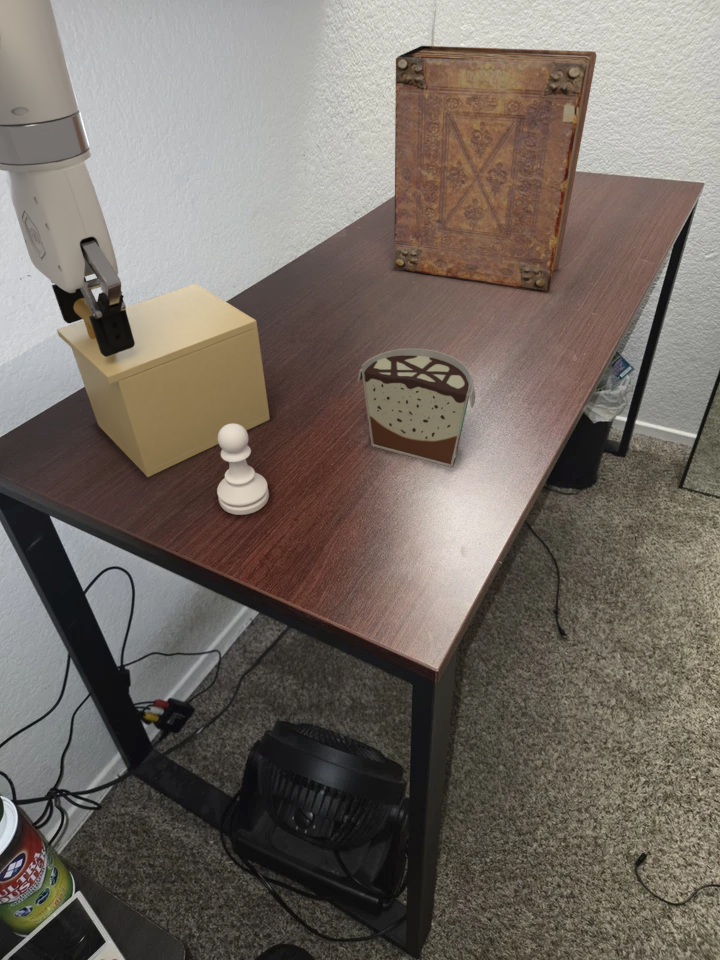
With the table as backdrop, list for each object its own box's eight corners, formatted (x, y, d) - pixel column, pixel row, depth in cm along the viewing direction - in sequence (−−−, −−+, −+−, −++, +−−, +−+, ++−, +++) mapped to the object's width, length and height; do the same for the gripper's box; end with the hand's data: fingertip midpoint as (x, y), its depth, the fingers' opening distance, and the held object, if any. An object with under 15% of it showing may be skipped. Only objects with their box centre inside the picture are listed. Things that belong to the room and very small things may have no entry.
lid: (110, 384, 61) (95, 338, 58) (58, 336, 68) (43, 292, 65) (257, 327, 69) (251, 283, 66) (197, 289, 76) (189, 248, 73)
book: (559, 269, 107) (599, 51, 87) (548, 293, 100) (588, 63, 81) (412, 249, 115) (418, 45, 95) (393, 269, 108) (395, 55, 89)
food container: (483, 438, 73) (492, 359, 66) (465, 471, 69) (474, 390, 62) (381, 413, 77) (381, 336, 71) (359, 442, 73) (356, 364, 66)
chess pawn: (277, 504, 66) (267, 431, 60) (230, 522, 64) (215, 449, 58) (257, 476, 69) (245, 405, 63) (212, 493, 67) (195, 421, 61)
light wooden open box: (147, 477, 69) (118, 381, 62) (98, 425, 77) (66, 334, 69) (270, 419, 77) (257, 327, 69) (214, 377, 84) (197, 290, 76)
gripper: (-42, 130, 57) (29, 316, 68) (29, 172, 46) (99, 383, 58) (44, 115, 60) (98, 294, 72) (128, 151, 50) (175, 353, 61)
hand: (98, 333), depth 65 cm, fingers open, 8 cm apart
